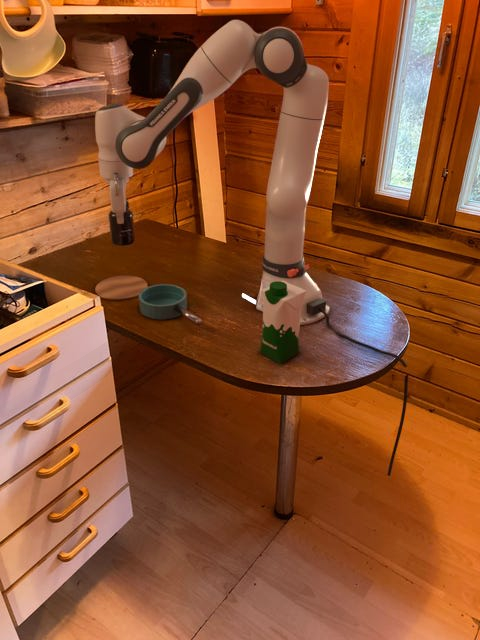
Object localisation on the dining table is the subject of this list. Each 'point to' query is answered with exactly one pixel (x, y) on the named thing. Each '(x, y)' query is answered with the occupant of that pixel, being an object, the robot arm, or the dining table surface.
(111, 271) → the dining table surface
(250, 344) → the dining table surface
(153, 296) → the pan
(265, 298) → the milk carton
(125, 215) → the supplement bottle
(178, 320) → the dining table surface
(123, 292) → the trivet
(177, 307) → the pan handle
